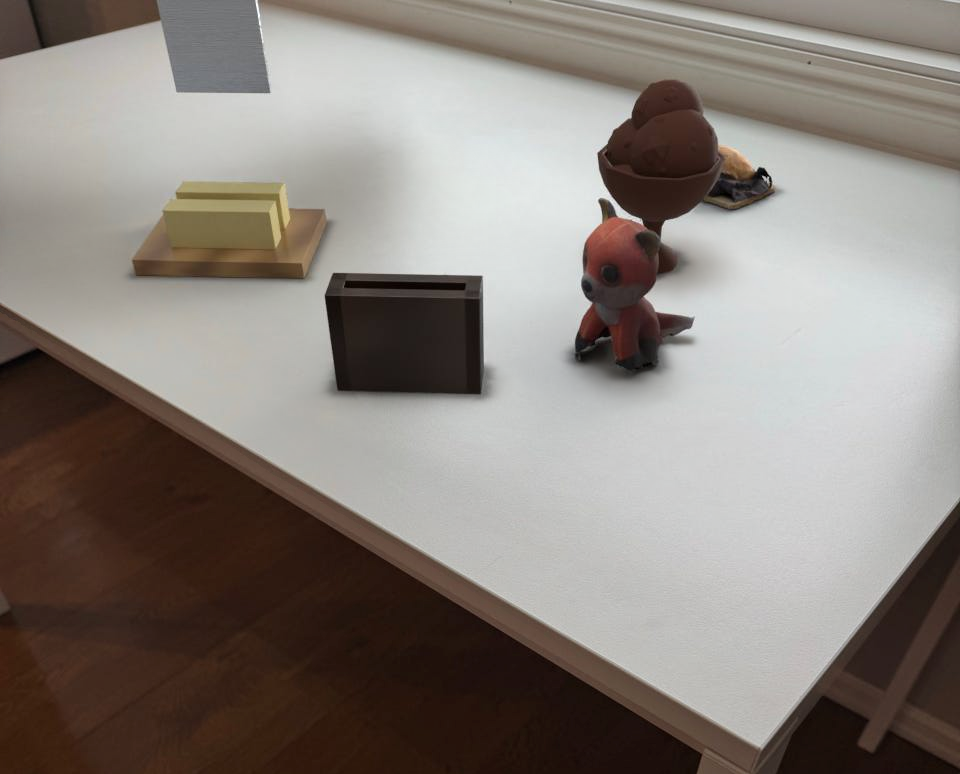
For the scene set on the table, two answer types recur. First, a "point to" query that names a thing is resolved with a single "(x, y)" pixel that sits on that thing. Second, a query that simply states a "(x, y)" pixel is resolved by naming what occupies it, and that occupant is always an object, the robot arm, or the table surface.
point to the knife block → (406, 332)
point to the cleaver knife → (215, 45)
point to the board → (236, 253)
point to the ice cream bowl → (662, 159)
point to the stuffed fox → (624, 292)
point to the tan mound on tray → (738, 182)
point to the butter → (227, 215)
